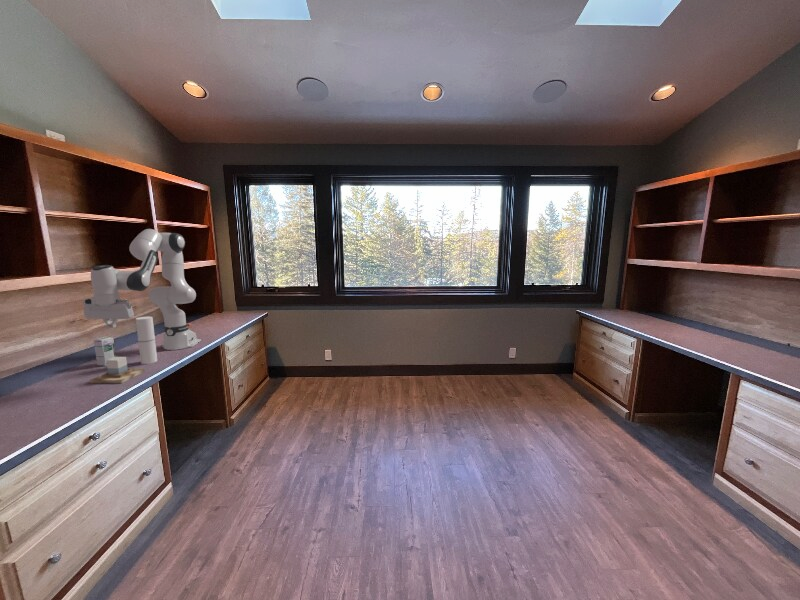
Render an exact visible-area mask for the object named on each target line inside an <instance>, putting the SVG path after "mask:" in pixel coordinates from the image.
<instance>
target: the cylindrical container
mask: <svg viewBox="0 0 800 600" xmlns="http://www.w3.org/2000/svg"><path fill="white" fill-rule="evenodd" d="M135 324H136V327H135V328H136V331H137V332H136V333H137V342H138V351H139V357H140V364H141V365H150V364H155V363H156V362H158V356H157V355H158V354H157V346H156V336H155V328H154V327H155V326H154V319H153V316H141V317H140V316H139V317H137V318H135Z"/></svg>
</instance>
